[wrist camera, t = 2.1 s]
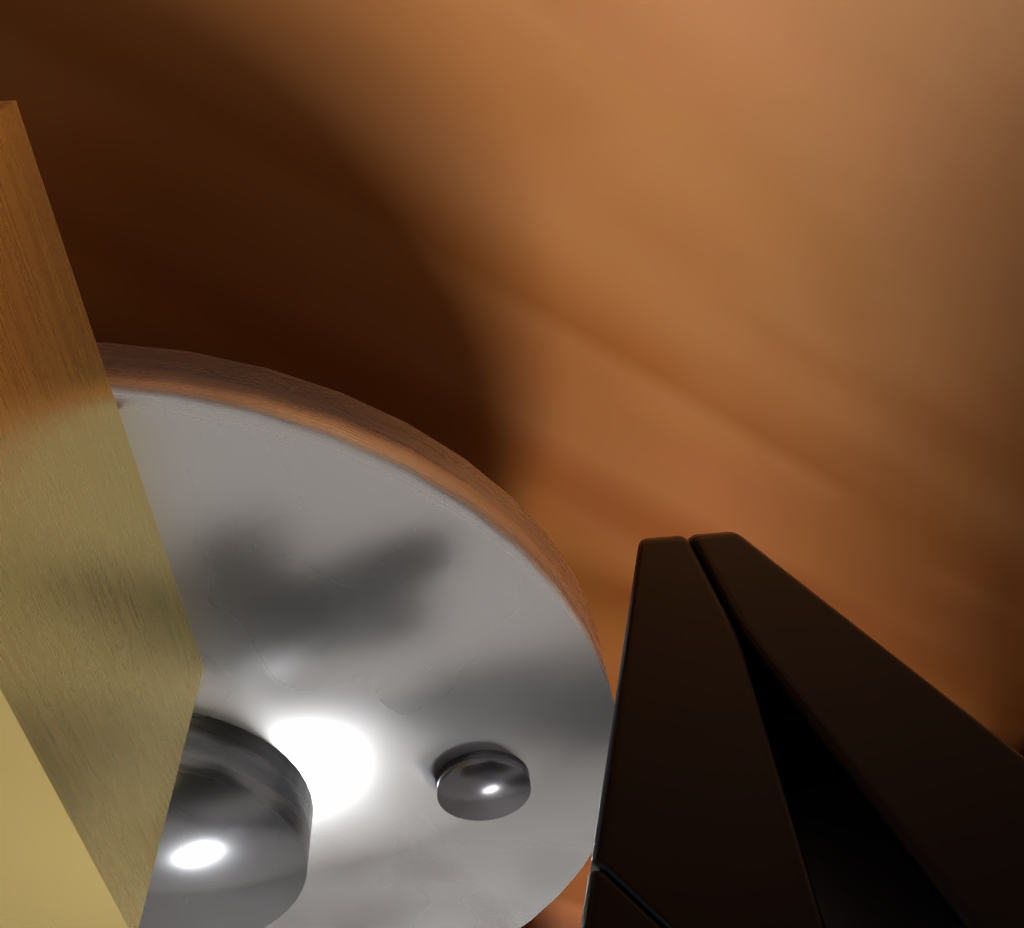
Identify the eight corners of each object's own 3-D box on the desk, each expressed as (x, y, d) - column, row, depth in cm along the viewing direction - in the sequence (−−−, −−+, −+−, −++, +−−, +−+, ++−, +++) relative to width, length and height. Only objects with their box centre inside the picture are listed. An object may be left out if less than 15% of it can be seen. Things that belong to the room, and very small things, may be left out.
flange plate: (593, 915, 16) (641, 1207, 13) (-96, 986, 15) (-240, 1313, 12) (639, 38, 8) (818, 205, 4) (-875, 107, 7) (-2103, 371, 4)
